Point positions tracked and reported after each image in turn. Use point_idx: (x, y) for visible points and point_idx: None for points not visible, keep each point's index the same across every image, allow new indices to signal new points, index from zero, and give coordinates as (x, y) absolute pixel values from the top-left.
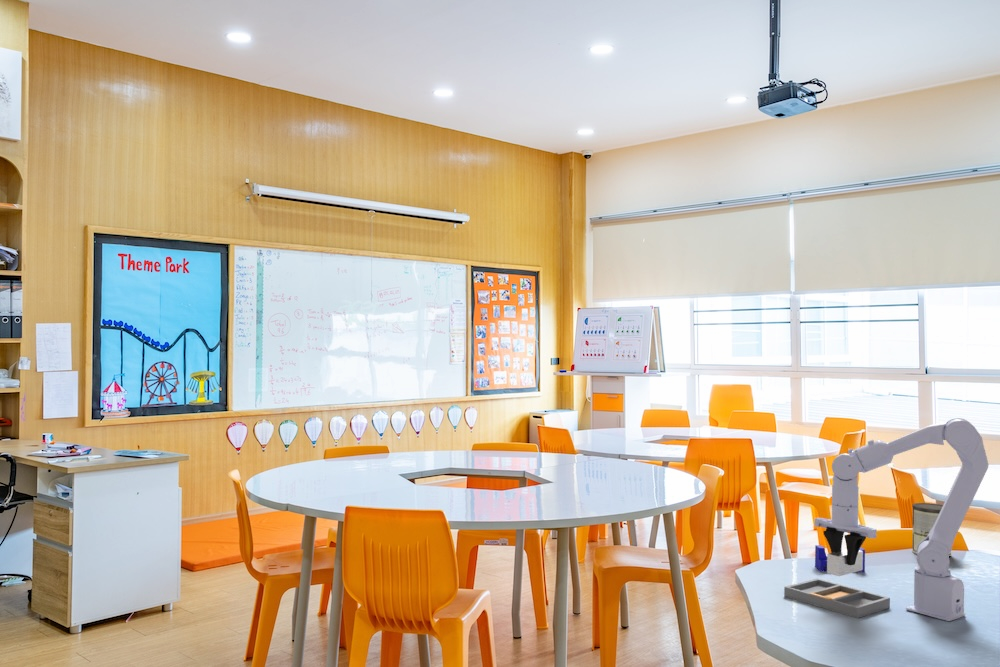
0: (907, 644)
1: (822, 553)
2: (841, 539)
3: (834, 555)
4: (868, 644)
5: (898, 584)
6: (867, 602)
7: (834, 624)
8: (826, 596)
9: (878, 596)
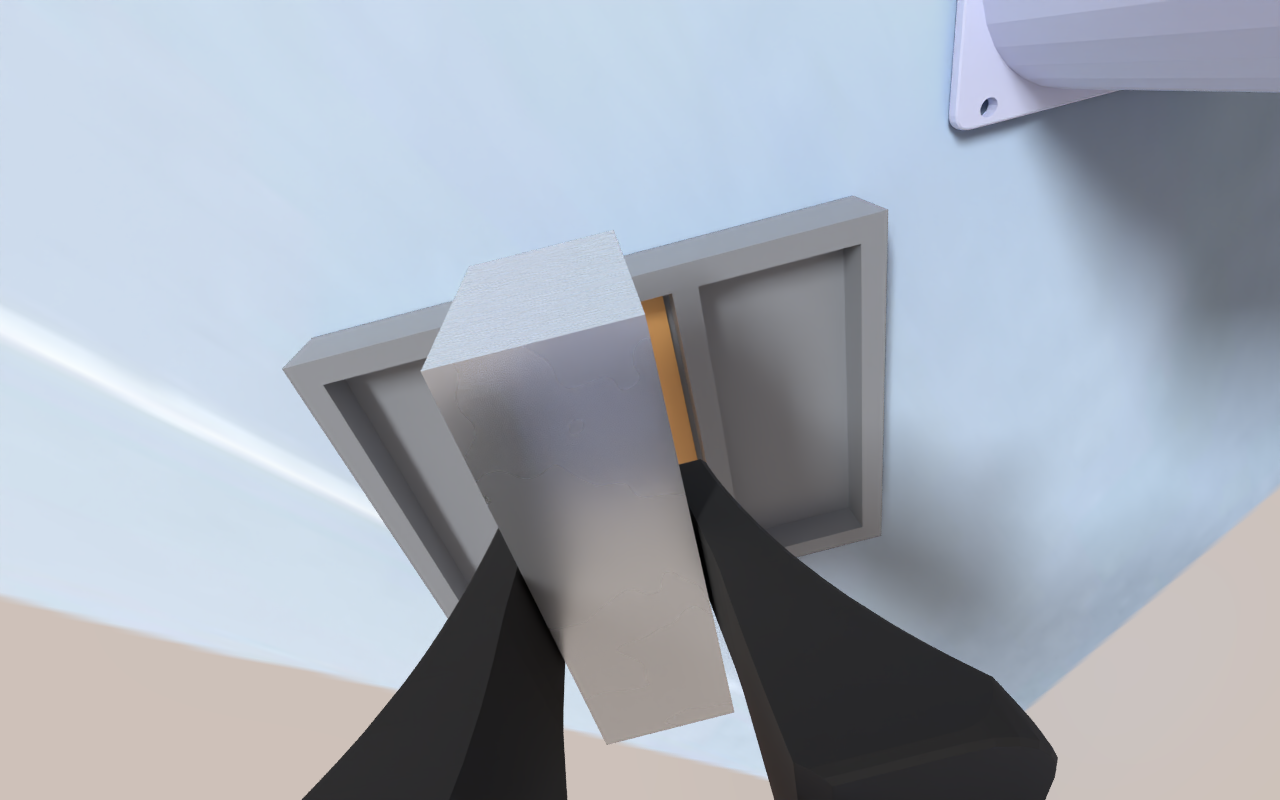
0: (1122, 524)
1: None
2: (491, 728)
3: (682, 725)
4: (1022, 624)
5: None
6: (780, 340)
7: None
8: None
9: (811, 254)
